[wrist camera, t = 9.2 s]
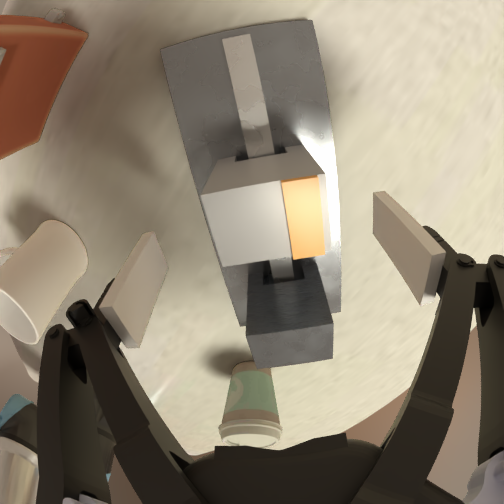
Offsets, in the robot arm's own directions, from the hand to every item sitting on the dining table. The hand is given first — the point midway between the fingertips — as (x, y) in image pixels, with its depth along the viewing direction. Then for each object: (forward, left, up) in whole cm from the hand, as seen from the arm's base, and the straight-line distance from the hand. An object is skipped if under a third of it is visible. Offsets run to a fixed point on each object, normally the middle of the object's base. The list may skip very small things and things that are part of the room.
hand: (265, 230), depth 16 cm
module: (0, 0, -9) cm, 9 cm away
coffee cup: (-7, -29, -10) cm, 31 cm away
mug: (-27, -2, -10) cm, 29 cm away
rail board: (0, -2, -10) cm, 10 cm away
